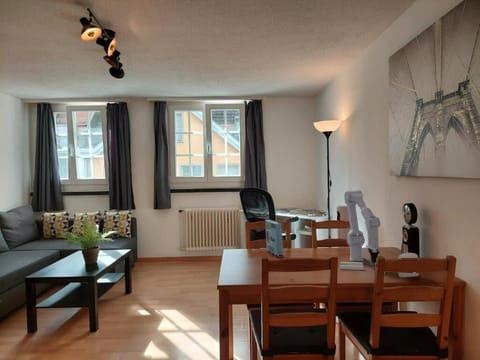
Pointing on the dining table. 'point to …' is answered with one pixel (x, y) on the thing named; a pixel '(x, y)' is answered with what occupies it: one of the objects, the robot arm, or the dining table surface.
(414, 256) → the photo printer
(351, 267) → the channel
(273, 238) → the gum box
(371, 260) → the slate block
